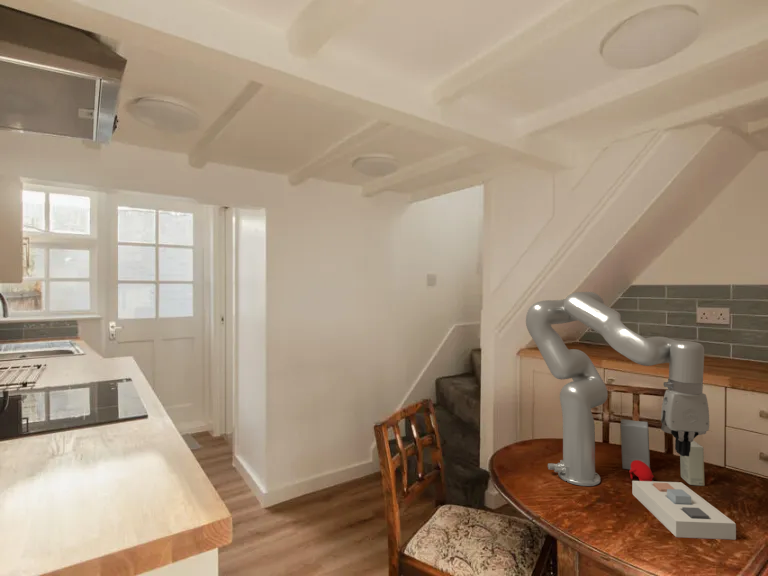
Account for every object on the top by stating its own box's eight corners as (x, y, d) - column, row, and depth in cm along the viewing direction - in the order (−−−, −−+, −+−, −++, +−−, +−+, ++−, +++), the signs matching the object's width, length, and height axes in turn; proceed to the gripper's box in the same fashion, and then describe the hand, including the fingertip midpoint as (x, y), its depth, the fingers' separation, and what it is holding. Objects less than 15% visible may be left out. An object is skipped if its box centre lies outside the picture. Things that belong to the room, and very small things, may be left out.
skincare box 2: (705, 486, 132) (704, 447, 132) (689, 485, 133) (688, 446, 133) (694, 477, 138) (694, 440, 138) (679, 476, 139) (679, 439, 139)
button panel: (676, 537, 106) (676, 521, 106) (632, 493, 128) (632, 480, 128) (735, 539, 105) (735, 523, 105) (681, 495, 126) (681, 482, 126)
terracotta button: (660, 499, 121) (660, 489, 121) (653, 492, 125) (653, 482, 125) (675, 500, 121) (675, 489, 121) (667, 493, 125) (667, 483, 125)
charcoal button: (692, 527, 107) (692, 515, 107) (682, 518, 111) (682, 507, 111) (708, 527, 107) (708, 516, 107) (698, 519, 111) (698, 507, 111)
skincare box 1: (649, 467, 146) (649, 421, 146) (649, 474, 140) (649, 427, 140) (621, 461, 151) (621, 417, 151) (620, 469, 145) (620, 423, 145)
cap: (622, 465, 141) (627, 461, 136) (639, 459, 141) (645, 455, 136) (636, 490, 136) (642, 488, 131) (654, 484, 136) (660, 481, 131)
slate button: (675, 507, 114) (675, 496, 114) (667, 499, 118) (666, 489, 118) (691, 507, 114) (691, 496, 114) (682, 500, 118) (682, 489, 118)
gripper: (663, 389, 111) (660, 458, 112) (724, 392, 109) (721, 462, 110) (648, 382, 118) (646, 446, 119) (706, 384, 117) (703, 450, 117)
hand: (682, 454), depth 115 cm, fingers closed
